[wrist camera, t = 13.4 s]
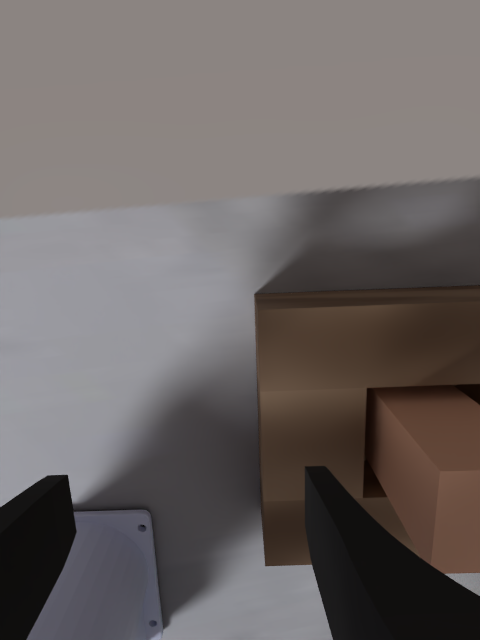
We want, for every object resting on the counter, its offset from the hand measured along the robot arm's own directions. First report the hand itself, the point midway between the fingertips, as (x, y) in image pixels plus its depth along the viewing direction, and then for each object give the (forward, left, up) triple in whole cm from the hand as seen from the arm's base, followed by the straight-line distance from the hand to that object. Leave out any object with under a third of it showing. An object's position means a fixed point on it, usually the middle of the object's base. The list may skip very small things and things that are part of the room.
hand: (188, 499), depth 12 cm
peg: (-2, -10, -9) cm, 14 cm away
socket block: (-2, -10, -10) cm, 14 cm away
